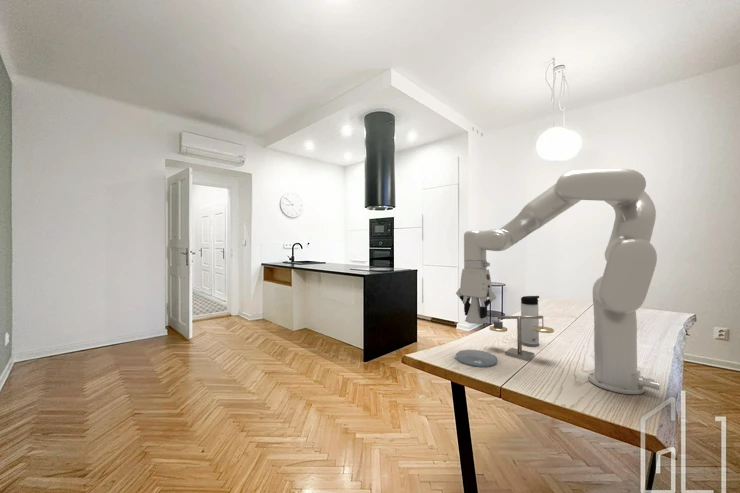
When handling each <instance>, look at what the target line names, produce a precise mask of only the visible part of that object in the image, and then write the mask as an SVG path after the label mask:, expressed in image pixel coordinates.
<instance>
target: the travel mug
mask: <svg viewBox="0 0 740 493" xmlns="http://www.w3.org/2000/svg"><path fill="white" fill-rule="evenodd" d="M539 299H540V296H539V295H526V296H522V297H521V296H520V316H539ZM539 320H540V319H521V326H522V346H525V347H530V348H532V347H533V348H534V347H535V348H536V347H538V346H540V342H539V341H540V338H539V337H540V336H539V335H540V332H537V331H534V330H533V328H532V327H534V326H540V325H539V324H540V322H539Z"/></svg>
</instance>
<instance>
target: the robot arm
mask: <svg viewBox="0 0 740 493" xmlns="http://www.w3.org/2000/svg"><path fill="white" fill-rule="evenodd" d="M646 187H647V181H646V177H645V176H644V175H643V174H642V173H641V172H639V171H637V170H635V169H631V168H630V169H629V168H611V169H610V168H609V169H608V168H605V169H603V168H602V169H575V170H569V171H566V172H565V173H563V174H562V175H560V176H559V178H558V179H557V180H556V183H554V184H553V185H551V186H550V187H549V188H547V189H546V190H545V191H543V192H542V193H540V194H539V195H538V196H536V197H535V198H534V199H532V200H531V201H529V202H528V203H527V204H525V205H524V207H523V208H521V210H520V212H519V213H518V214H517V215H516V216H515V217H514V218H513V219H511V220H510V221H509V222H507V223H506V224H505V225H503V226H502V227H500V228H497V229H496V228H493V229H489V230H467V231H465V232H464V234H463V268H462V270H461V273H460V274H461V275H460V276H461V277H460V283H459V289H458V290H457V291H456V292H455V294H456V296H458V298H459V299H460V300H461V302H462V304H463V312H464V316H467V314H468V311H469V308H470V305H471V297H475V298H479V302H480V306H481V307H480V318H485V319H486V318H487V316H488V306H489V305H490V304H491V303H493V302H494V301H495V300H497V296H496V294H495V293H494V291H493V288H492V287H493V286H492V277H491V272H490V269H487V268H488V267H490V266H491V262H489V261H488V260H487V251H490V252H503V251H506V250H508V249H510V248H512V247H513V246H514V245H515V244H517V243H519V242H520V241H521V240H523V239H525V238H526V237H527V236H529V235H530V234H531V233H534V232H535V231H537V230H539V229H540V228H542V227H544V226H545V225H546V224H548V223H549V222H550V221H552V220H553V219H555V218H556V217H558V216H559V215H561V214H562V213H564V212H565V211H567V210H568V209H570V208H572V207H574V205H576V204H578V203H579V202H581V201H602V202H603V201H604V203H607V205H610V206H611V207H612V209H613V211H614V212H615V213H614V214H615V218H614V222H613V227H612V231H611V235H610V237H609V241H608V243H607V246H606V248H605V251H604V259H605V261H606V263H605V266H604V267H605V268H604V270H603V273H602V274H603V275H602V276H600V277H598V278H597V279H596V281H595V282H594V284H593V287H592V303H593V326H594V327H593V339H594V340H593V341H594V344H593V345H594V347H593V348H594V349H593V350H594V351H593V352H594V355H593V356H594V371H592V372H590V373H588V376H587V378H588V380H589V382H590V383H592V384H594V385H595V386H597V387H599V388H601V389H605V390H607V391H611V392H614V393H619V394H623V395H641V394H644V393H645V392H646V388H649V389H652V390H656V391H660V390H661V383H660V382H658V381H655V379H653V378H650V377H649V378H648V377H644V376H643V375H641V370H638V335H637V334H638V322H637V321H638V320H637V312H636V311H637V310H639V309H640V308H641V307H642V306H643V304H644V302H645V301H646V297H647V294H648V291H649V289H650V285H651V283H652V279H653V276H654V272H655V270H656V266H657V261H658V253H657V251H656V248H655V246H654V245H653V244H652V243H651V239H652V236H653V232H654V227H655V223H656V218H657V211H656V206H655V203H654V201H653V199H652V198H651V196H650V195H649V194H648V193H647V192H646V191H645V190H646Z"/></svg>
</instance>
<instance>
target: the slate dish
mask: <svg viewBox="0 0 740 493" xmlns="http://www.w3.org/2000/svg"><path fill="white" fill-rule="evenodd" d="M498 359H499V358H498V357H497V356H496V355H495V354H493V353H491V352H487V351H484V350H478V349H477V350H476V349H464V350H458V351H457V352H456V353H455V360H456V361H457V362H459V363H461V364H462V365H466V366H470V367H475V368H491V367H495V366H497V365H498V361H499V360H498Z"/></svg>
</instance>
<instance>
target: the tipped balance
mask: <svg viewBox="0 0 740 493" xmlns="http://www.w3.org/2000/svg"><path fill="white" fill-rule="evenodd" d="M521 319H539V320H540V319H541V320H542V322H541V323H542V326H540V325H539V326H534V327H532V328H533V330H534V331H537V332H539V333H543V334H551V333H554V332H555V330H554V328H551V327H548V326H544V315H538V316H521V315H504V316H501V315H498V316H497V320H495V321H493V325H490V326H488V327H489V330H490V331H492V332H498V333H505V332H508V328H507V327H506V326H504V324H503V321H501V320H516V321H517V322H516V328H517V329H516V331H517V333H516V335H517V343H516V344H517V345H516V346H517V348H515V347H510V348H509V349H506V350H505V352H504V354H505V356H508V357H512V358H517V359H519V360H520V359H521V360H525V361H530V360H531V359H533V358H534V357H535V355H536V354H535V352H532V351H528V350H525V349H524V350H523V344H522V326H521Z"/></svg>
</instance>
